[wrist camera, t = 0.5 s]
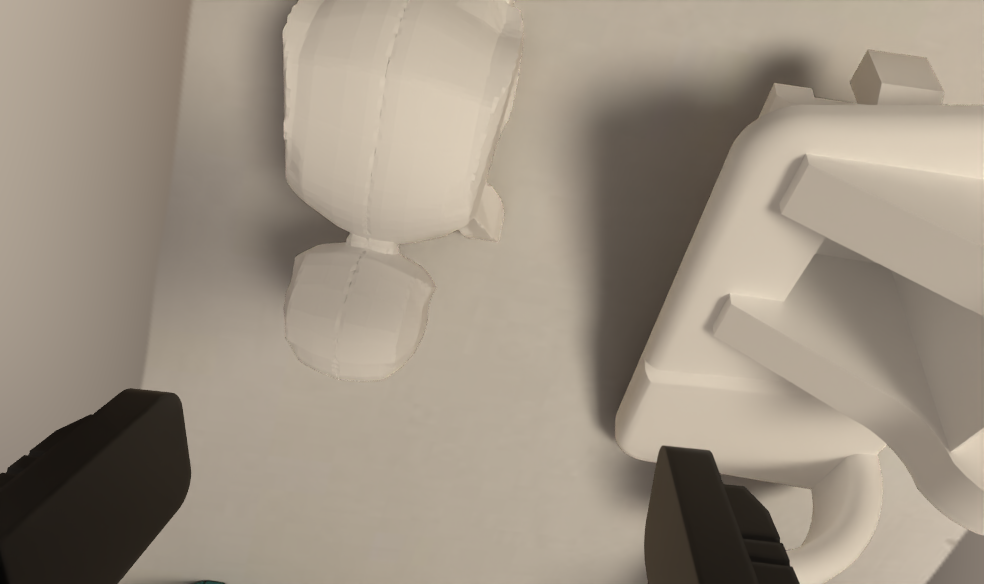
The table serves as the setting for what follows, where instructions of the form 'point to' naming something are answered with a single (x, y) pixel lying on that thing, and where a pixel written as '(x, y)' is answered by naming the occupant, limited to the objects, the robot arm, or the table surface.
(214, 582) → the teal ridged hollow cylinder
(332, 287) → the white figurine
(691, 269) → the tape dispenser
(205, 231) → the table surface
